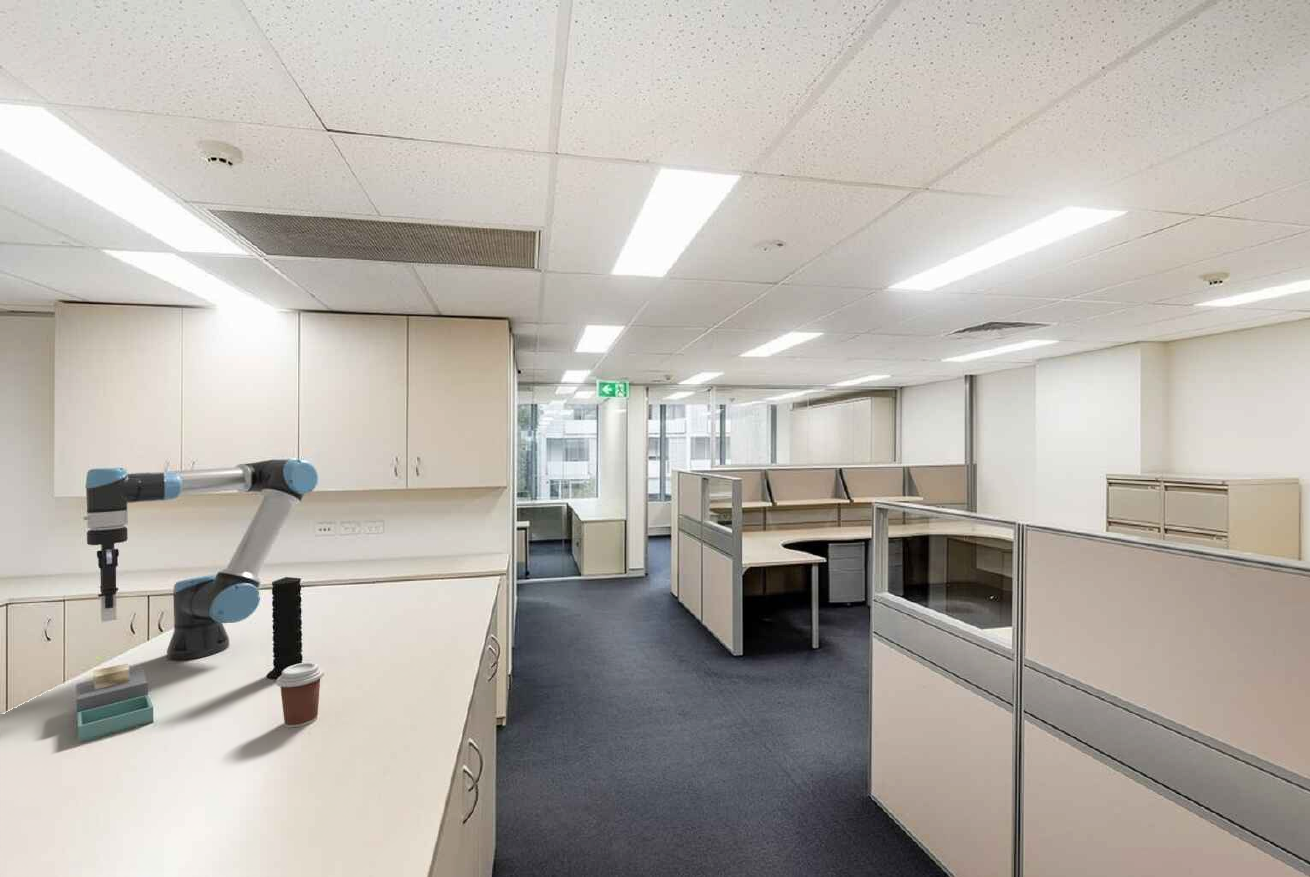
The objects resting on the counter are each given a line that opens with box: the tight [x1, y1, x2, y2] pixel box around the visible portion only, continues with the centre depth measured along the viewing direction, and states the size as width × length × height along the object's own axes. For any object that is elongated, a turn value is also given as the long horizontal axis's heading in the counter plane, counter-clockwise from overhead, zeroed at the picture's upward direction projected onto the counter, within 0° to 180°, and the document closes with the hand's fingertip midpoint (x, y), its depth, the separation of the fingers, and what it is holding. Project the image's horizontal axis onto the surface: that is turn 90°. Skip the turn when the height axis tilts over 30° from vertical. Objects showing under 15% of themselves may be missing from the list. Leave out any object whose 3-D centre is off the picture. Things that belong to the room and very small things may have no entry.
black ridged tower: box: [265, 576, 304, 680], centre depth 157 cm, size 10×26×10 cm
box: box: [77, 694, 154, 744], centre depth 128 cm, size 12×10×4 cm
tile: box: [93, 663, 130, 690], centre depth 138 cm, size 6×6×3 cm
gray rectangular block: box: [75, 668, 149, 726], centre depth 137 cm, size 12×13×6 cm
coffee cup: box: [276, 661, 325, 729], centre depth 128 cm, size 9×9×12 cm
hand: (108, 619), depth 145 cm, fingers open, 3 cm apart
